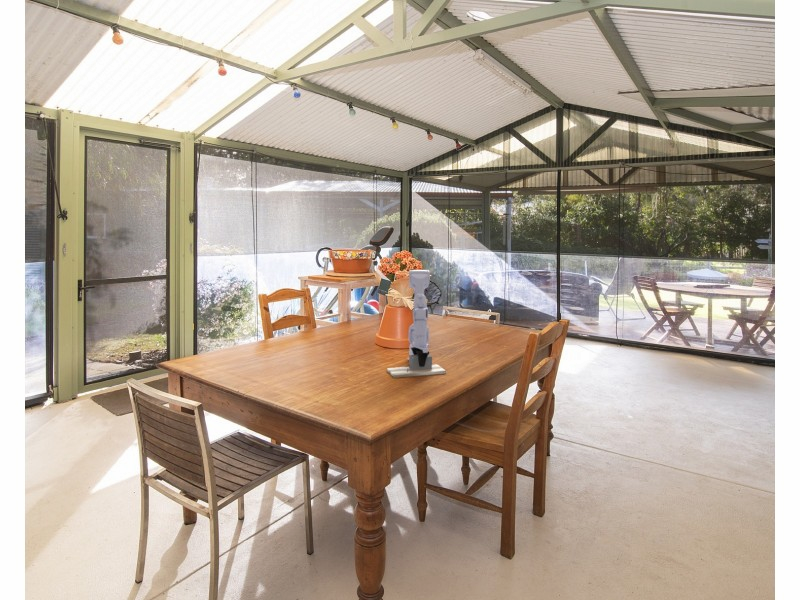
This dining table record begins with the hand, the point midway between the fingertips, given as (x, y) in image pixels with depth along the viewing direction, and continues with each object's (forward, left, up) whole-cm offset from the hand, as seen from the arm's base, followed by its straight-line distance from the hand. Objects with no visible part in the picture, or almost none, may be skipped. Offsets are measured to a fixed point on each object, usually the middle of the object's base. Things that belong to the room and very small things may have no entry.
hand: (419, 364), depth 219 cm
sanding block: (0, 0, -2) cm, 2 cm away
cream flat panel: (0, -2, -3) cm, 4 cm away
